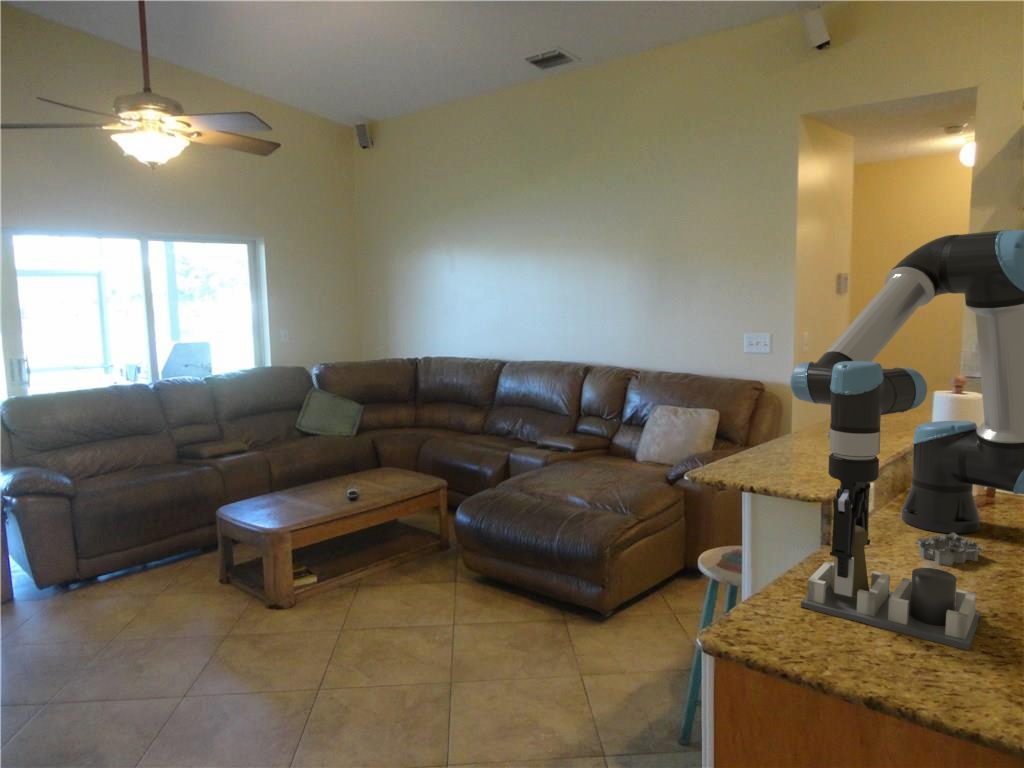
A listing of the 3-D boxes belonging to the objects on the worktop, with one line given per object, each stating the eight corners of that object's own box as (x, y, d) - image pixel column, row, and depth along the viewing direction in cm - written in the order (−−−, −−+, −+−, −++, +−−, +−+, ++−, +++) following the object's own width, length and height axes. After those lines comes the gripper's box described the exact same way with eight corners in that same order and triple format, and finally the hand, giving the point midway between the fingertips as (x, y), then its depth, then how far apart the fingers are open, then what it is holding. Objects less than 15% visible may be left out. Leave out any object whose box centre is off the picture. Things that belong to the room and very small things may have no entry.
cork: (871, 597, 115) (873, 533, 114) (831, 593, 117) (833, 530, 116) (866, 583, 121) (868, 522, 120) (828, 579, 123) (830, 519, 122)
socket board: (823, 581, 128) (825, 539, 127) (980, 618, 113) (983, 570, 112) (800, 607, 118) (802, 561, 117) (968, 650, 103) (971, 598, 102)
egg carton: (942, 568, 134) (943, 548, 133) (910, 554, 141) (911, 535, 140) (986, 561, 136) (988, 541, 136) (953, 548, 143) (954, 529, 143)
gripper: (845, 441, 126) (841, 564, 129) (812, 463, 111) (808, 601, 114) (891, 446, 121) (886, 574, 124) (863, 469, 107) (858, 613, 110)
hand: (848, 586), depth 119 cm, fingers closed on cork, 6 cm apart
